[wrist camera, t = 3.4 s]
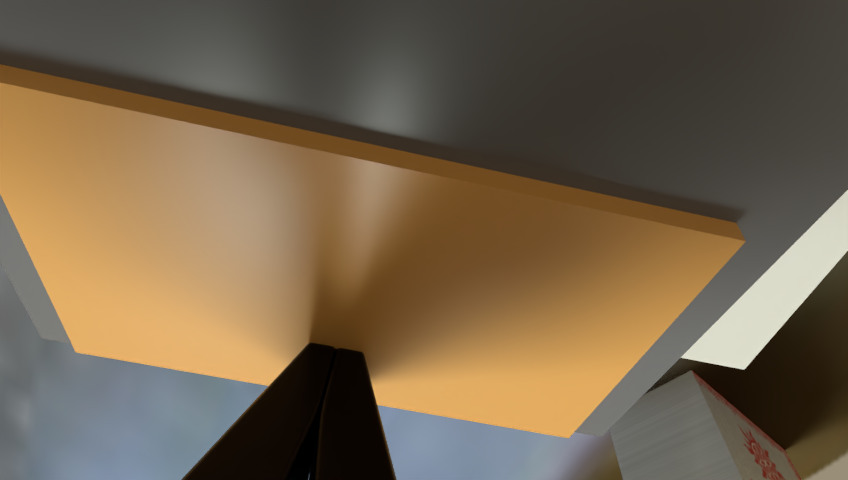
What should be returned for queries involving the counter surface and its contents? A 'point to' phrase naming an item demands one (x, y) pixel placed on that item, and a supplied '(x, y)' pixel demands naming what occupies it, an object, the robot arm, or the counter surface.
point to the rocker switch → (415, 185)
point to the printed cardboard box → (694, 438)
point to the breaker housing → (776, 293)
